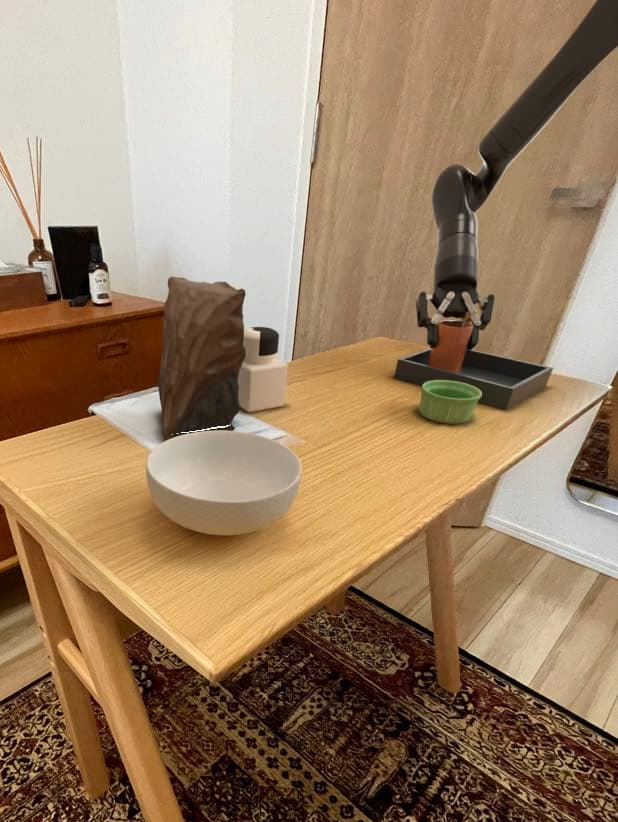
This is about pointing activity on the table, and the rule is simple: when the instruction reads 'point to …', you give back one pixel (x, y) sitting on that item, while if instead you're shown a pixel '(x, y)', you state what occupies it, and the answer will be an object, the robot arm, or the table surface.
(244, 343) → the medicine bottle
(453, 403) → the ramekin
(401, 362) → the tray
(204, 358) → the brown carved rock
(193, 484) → the cereal bowl
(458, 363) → the cup
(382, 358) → the table surface
